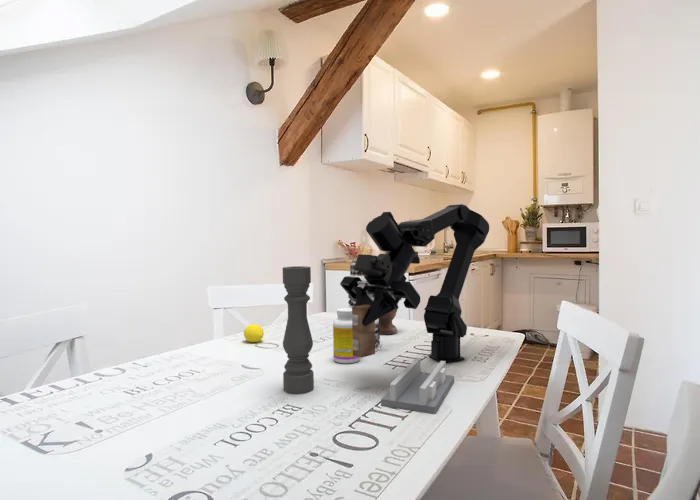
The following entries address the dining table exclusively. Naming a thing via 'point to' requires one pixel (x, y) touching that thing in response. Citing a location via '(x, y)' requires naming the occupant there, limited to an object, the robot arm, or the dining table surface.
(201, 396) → the dining table surface
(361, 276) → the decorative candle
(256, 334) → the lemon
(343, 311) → the supplement bottle
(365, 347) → the brown wooden block
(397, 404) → the grey long channel piece
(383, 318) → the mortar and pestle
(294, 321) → the candle holder
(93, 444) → the dining table surface
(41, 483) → the dining table surface
